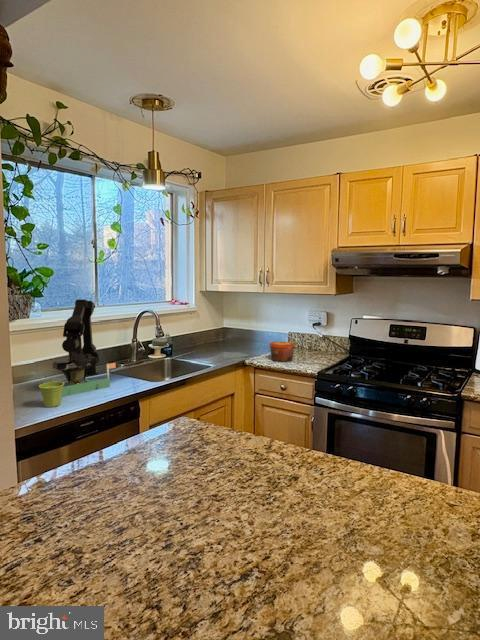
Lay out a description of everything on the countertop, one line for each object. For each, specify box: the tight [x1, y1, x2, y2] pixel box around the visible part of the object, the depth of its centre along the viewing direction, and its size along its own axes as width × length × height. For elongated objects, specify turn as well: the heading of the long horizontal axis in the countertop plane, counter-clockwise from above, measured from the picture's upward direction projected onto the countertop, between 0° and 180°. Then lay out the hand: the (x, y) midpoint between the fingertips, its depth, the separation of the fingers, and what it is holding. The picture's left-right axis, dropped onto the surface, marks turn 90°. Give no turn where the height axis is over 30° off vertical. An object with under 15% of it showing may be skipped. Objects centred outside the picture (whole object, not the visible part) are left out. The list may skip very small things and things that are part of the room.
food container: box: [269, 340, 296, 363], centre depth 258 cm, size 16×16×11 cm
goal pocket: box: [62, 362, 117, 397], centre depth 193 cm, size 12×30×11 cm, turn 135°
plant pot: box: [38, 381, 65, 408], centre depth 169 cm, size 9×9×9 cm
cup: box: [68, 366, 85, 385], centre depth 192 cm, size 8×7×8 cm
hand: (76, 381), depth 192 cm, fingers closed on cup, 6 cm apart
